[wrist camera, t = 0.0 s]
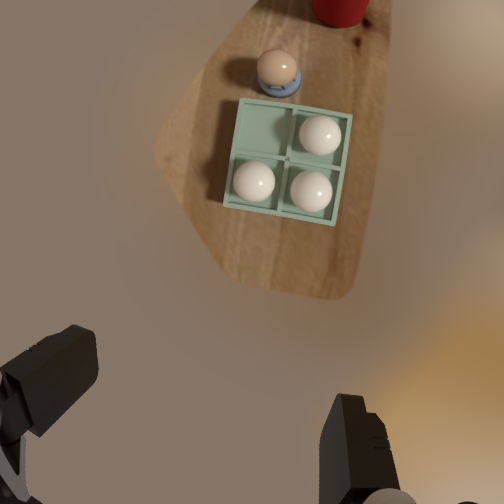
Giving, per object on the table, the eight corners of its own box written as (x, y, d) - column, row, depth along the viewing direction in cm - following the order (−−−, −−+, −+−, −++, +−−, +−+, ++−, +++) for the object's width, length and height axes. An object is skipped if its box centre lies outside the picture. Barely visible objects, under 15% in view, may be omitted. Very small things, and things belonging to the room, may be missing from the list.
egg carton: (244, 104, 34) (239, 97, 32) (348, 120, 33) (352, 115, 30) (228, 204, 37) (222, 206, 34) (332, 223, 36) (334, 226, 33)
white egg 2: (302, 116, 32) (302, 106, 28) (341, 123, 31) (346, 115, 27) (296, 153, 33) (295, 149, 29) (335, 161, 32) (340, 157, 28)
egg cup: (262, 60, 33) (259, 52, 30) (303, 64, 32) (303, 56, 30) (256, 95, 34) (253, 89, 31) (298, 101, 33) (297, 95, 31)
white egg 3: (294, 168, 33) (293, 165, 29) (333, 175, 33) (338, 173, 28) (287, 207, 34) (285, 209, 30) (326, 214, 34) (330, 218, 29)
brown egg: (262, 56, 31) (257, 40, 27) (300, 60, 30) (299, 44, 26) (256, 88, 32) (250, 76, 28) (295, 93, 31) (294, 81, 27)
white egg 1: (240, 159, 34) (232, 156, 30) (279, 165, 33) (276, 162, 29) (234, 198, 35) (225, 199, 31) (273, 204, 34) (269, 207, 30)
